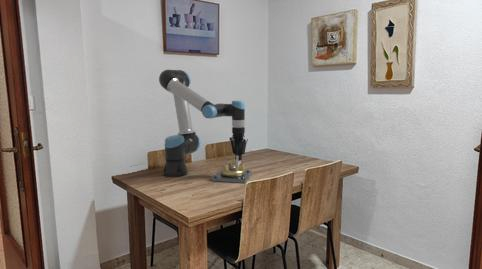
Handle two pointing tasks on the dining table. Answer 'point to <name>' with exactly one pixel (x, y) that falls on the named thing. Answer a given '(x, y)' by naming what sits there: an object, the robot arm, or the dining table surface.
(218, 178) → the plate
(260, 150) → the dining table surface
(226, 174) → the three-jaw lathe chuck
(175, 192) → the dining table surface
